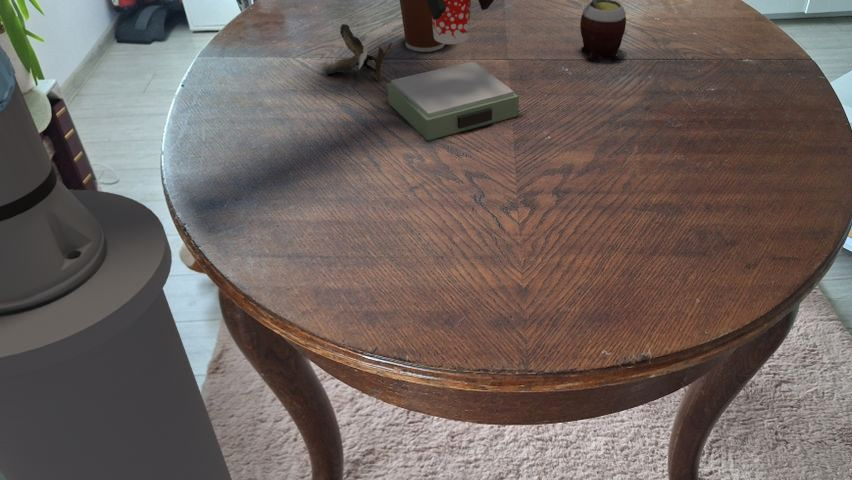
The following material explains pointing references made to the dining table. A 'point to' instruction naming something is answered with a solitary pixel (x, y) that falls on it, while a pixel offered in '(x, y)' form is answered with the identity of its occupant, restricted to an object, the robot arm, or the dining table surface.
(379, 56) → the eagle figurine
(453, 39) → the beverage cup
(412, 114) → the scale
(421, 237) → the dining table surface
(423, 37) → the coffee cup
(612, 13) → the mate gourd
